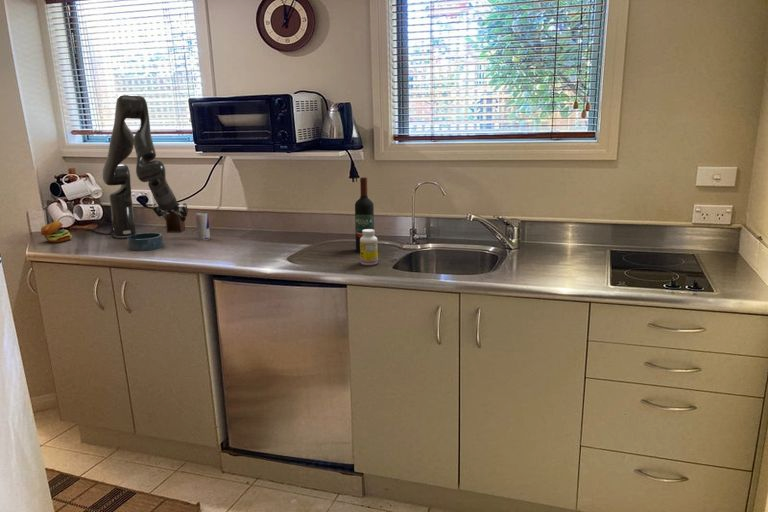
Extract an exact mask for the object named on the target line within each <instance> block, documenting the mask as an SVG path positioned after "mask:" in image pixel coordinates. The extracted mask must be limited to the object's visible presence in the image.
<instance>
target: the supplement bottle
mask: <svg viewBox="0 0 768 512" xmlns="http://www.w3.org/2000/svg"><path fill="white" fill-rule="evenodd" d="M375 233H376V231H375V229H374V230H373V229H365V230H362V234H363V237H361V238H360V252H359V257H360V258H359V261H360V262H359V263H360V264H361V265H363V266H376V265H377V264H378V262H379V253H378V251H379V250H378V249H379V248H378V246H379V245H378V244H379V243H378V237H377V236H375V235H376V234H375Z"/></svg>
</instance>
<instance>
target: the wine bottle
mask: <svg viewBox="0 0 768 512" xmlns="http://www.w3.org/2000/svg"><path fill="white" fill-rule="evenodd" d="M359 183H360V185H359V187H360V197H359V198H358V199H357V200H356V201H355V203H354V225H355V226H354V227H355V230H354V231H355V252H357V253H360V238H361V237H363V234H362V230H365V229H373V230H375V214H374V213H375V212H374V211H375V210H374V209H375V208H374V206H375V205H374V202H373V201H372V200H371V199H370V198H369V196H368V177H366V176H364V177H360V178H359Z"/></svg>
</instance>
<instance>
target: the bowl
mask: <svg viewBox="0 0 768 512" xmlns="http://www.w3.org/2000/svg"><path fill="white" fill-rule="evenodd" d="M126 239H127V248H128V250H129V251H132V252H147V251H154V250H158V249H161V248H163V247H164V240H163V234H162V233H160V232H139V233H136V234H134V235H130V236H128V237H127V238H126Z"/></svg>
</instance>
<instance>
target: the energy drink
mask: <svg viewBox="0 0 768 512" xmlns="http://www.w3.org/2000/svg"><path fill="white" fill-rule="evenodd" d="M195 224H196V234H197V235H196V236H197V240H198V241H207V240H210V239H211V233H210V232H211V231H210V220H209V214H208V212H197V213H195Z"/></svg>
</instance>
